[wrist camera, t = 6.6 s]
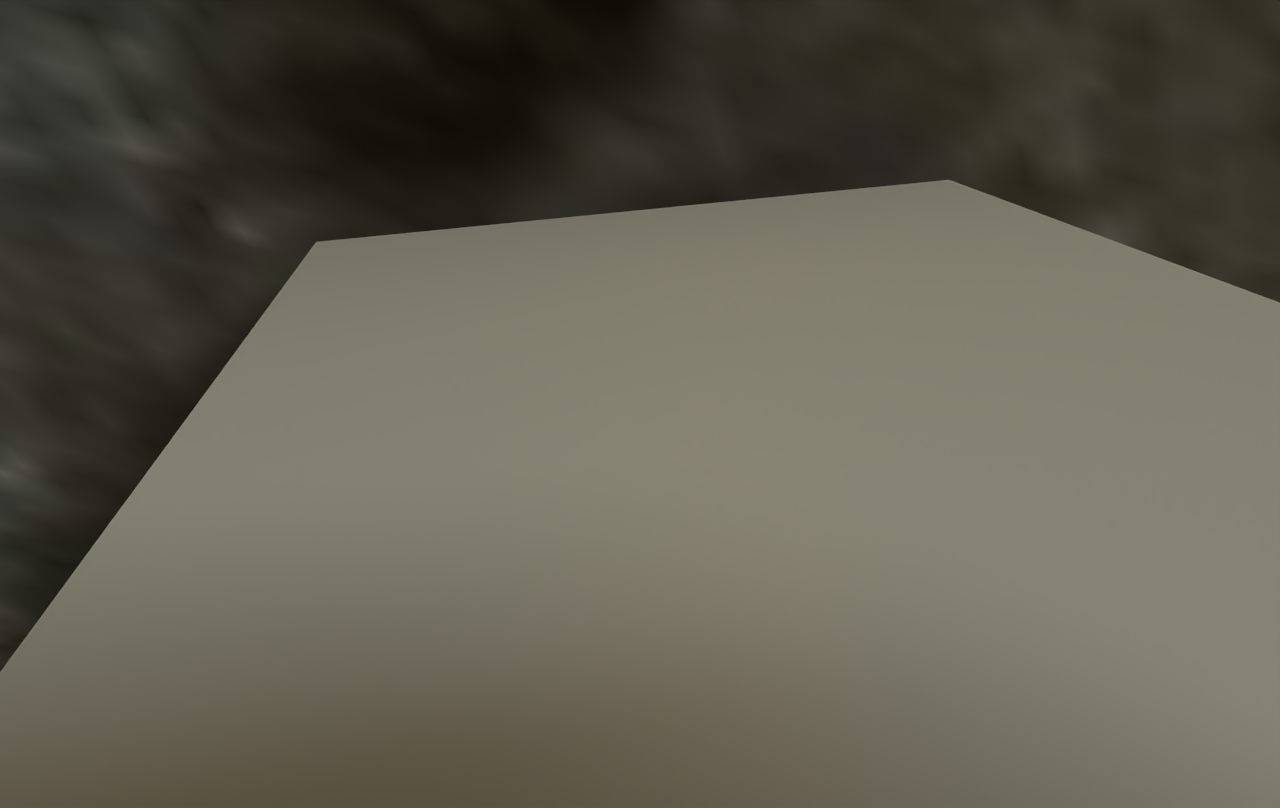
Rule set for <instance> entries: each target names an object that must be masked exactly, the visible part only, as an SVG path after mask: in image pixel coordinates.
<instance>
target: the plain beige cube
mask: <svg viewBox="0 0 1280 808" xmlns="http://www.w3.org/2000/svg"><path fill="white" fill-rule="evenodd" d="M0 808H1280V303H1279V302H1276V301H1274V300H1271V299H1268V298H1266V297H1263V296H1260V295H1257V294H1255V293H1252V292H1249V291H1247V290H1244V289H1241V288H1239V287H1236V286H1233V285H1231V284H1228V283H1225V282H1223V281H1220V280H1217V279H1214V278H1212V277H1209V276H1206V275H1204V274H1201V273H1198V272H1196V271H1193V270H1190V269H1188V268H1185V267H1182V266H1179V265H1177V264H1174V263H1171V262H1169V261H1166V260H1163V259H1161V258H1158V257H1155V256H1153V255H1150V254H1147V253H1145V252H1142V251H1139V250H1136V249H1134V248H1131V247H1128V246H1126V245H1123V244H1120V243H1118V242H1115V241H1112V240H1110V239H1107V238H1104V237H1101V236H1099V235H1096V234H1093V233H1091V232H1088V231H1085V230H1083V229H1080V228H1077V227H1075V226H1072V225H1069V224H1066V223H1064V222H1061V221H1058V220H1056V219H1053V218H1050V217H1048V216H1045V215H1042V214H1040V213H1037V212H1034V211H1032V210H1029V209H1026V208H1023V207H1021V206H1018V205H1015V204H1013V203H1010V202H1007V201H1005V200H1002V199H999V198H997V197H994V196H991V195H988V194H986V193H983V192H980V191H978V190H975V189H972V188H970V187H967V186H964V185H962V184H959V183H956V182H954V181H951V180H944V181H934V182H923V183H913V184H903V185H893V186H883V187H872V188H862V189H852V190H842V191H832V192H821V193H811V194H801V195H791V196H780V197H770V198H760V199H750V200H740V201H729V202H719V203H709V204H699V205H689V206H678V207H668V208H658V209H648V210H638V211H627V212H617V213H607V214H597V215H587V216H576V217H566V218H556V219H546V220H536V221H525V222H515V223H505V224H495V225H485V226H474V227H464V228H454V229H444V230H434V231H423V232H413V233H403V234H393V235H383V236H372V237H362V238H352V239H342V240H332V241H321V242H316V243H315V244H314V246H313V247H312V248H311V250H310V251H309V252H308V254H307V255H306V257H305V258H304V259H303V261H302V262H301V263H300V265H299V266H298V267H297V269H296V270H295V272H294V273H293V274H292V276H291V277H290V278H289V280H288V281H287V282H286V284H285V285H284V287H283V288H282V289H281V291H280V292H279V293H278V295H277V296H276V297H275V299H274V300H273V301H272V303H271V304H270V306H269V307H268V308H267V310H266V311H265V312H264V314H263V315H262V316H261V318H260V319H259V321H258V322H257V323H256V325H255V326H254V327H253V329H252V330H251V331H250V333H249V334H248V336H247V337H246V338H245V340H244V341H243V342H242V344H241V345H240V346H239V348H238V349H237V350H236V352H235V353H234V355H233V356H232V357H231V359H230V360H229V361H228V363H227V364H226V365H225V367H224V368H223V370H222V371H221V372H220V374H219V375H218V376H217V378H216V379H215V380H214V382H213V383H212V385H211V386H210V387H209V389H208V390H207V391H206V393H205V394H204V395H203V397H202V398H201V399H200V401H199V402H198V404H197V405H196V406H195V408H194V409H193V410H192V412H191V413H190V414H189V416H188V417H187V419H186V420H185V421H184V423H183V424H182V425H181V427H180V428H179V429H178V431H177V432H176V434H175V435H174V436H173V438H172V439H171V440H170V442H169V443H168V444H167V446H166V447H165V449H164V450H163V451H162V453H161V454H160V455H159V457H158V458H157V459H156V461H155V462H154V463H153V465H152V466H151V468H150V469H149V470H148V472H147V473H146V474H145V476H144V477H143V478H142V480H141V481H140V483H139V484H138V485H137V487H136V488H135V489H134V491H133V492H132V493H131V495H130V496H129V498H128V499H127V500H126V502H125V503H124V504H123V506H122V507H121V508H120V510H119V511H118V512H117V514H116V515H115V517H114V518H113V519H112V521H111V522H110V523H109V525H108V526H107V527H106V529H105V530H104V532H103V533H102V534H101V536H100V537H99V538H98V540H97V541H96V542H95V544H94V545H93V547H92V548H91V549H90V551H89V552H88V553H87V555H86V556H85V557H84V559H83V560H82V561H81V563H80V564H79V566H78V567H77V568H76V570H75V571H74V572H73V574H72V575H71V576H70V578H69V579H68V581H67V582H66V583H65V585H64V586H63V587H62V589H61V590H60V591H59V593H58V594H57V596H56V597H55V598H54V600H53V601H52V602H51V604H50V605H49V606H48V608H47V609H46V610H45V612H44V613H43V615H42V616H41V617H40V619H39V620H38V621H37V623H36V624H35V625H34V627H33V628H32V630H31V631H30V632H29V634H28V635H27V636H26V638H25V639H24V640H23V642H22V643H21V645H20V646H19V647H18V649H17V650H16V651H15V653H14V654H13V655H12V657H11V658H10V659H9V661H8V662H7V664H6V665H5V666H4V668H3V669H2V670H1V672H0Z"/></svg>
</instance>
